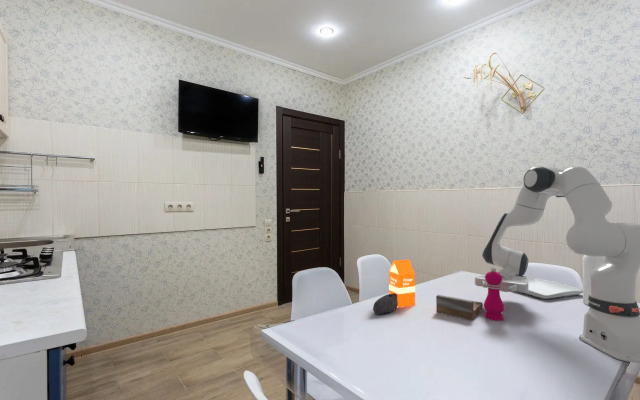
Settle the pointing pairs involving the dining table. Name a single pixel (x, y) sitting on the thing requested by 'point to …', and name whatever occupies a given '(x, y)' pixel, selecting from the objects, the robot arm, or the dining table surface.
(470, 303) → the walnut stand
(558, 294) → the square plate
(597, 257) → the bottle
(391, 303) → the perforated stone tool
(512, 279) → the robot arm
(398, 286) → the orange juice
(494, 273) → the pepper mill
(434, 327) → the dining table surface
